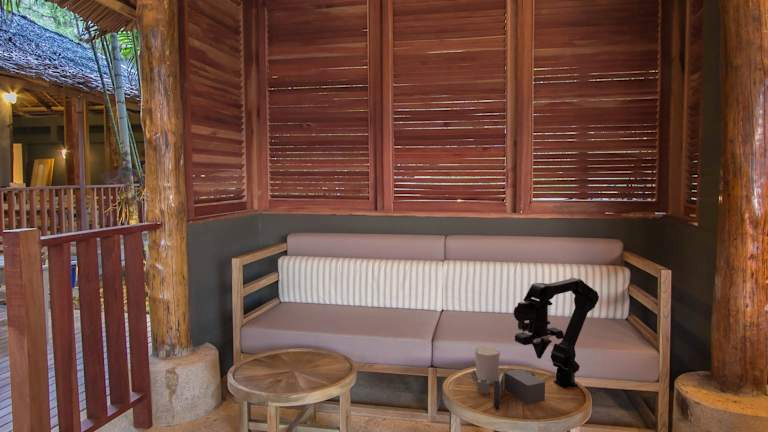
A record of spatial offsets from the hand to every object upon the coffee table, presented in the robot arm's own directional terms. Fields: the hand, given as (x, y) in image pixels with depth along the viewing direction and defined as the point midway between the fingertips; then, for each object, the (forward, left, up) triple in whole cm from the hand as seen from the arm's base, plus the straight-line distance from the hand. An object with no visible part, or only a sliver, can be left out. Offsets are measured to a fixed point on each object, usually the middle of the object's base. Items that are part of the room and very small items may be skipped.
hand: (539, 358), depth 195 cm
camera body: (+7, 0, -13) cm, 15 cm away
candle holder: (+11, -18, -13) cm, 25 cm away
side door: (+17, -1, -13) cm, 21 cm away
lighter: (+20, -9, -13) cm, 26 cm away
